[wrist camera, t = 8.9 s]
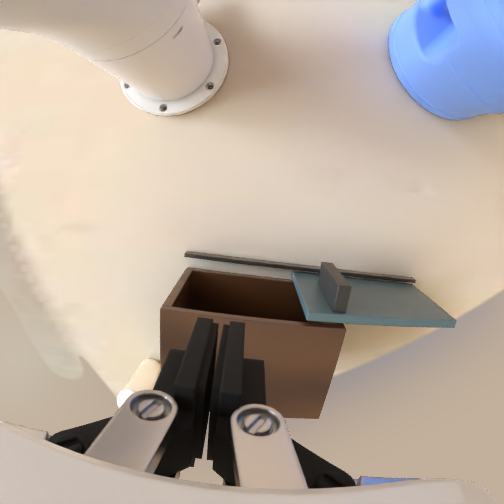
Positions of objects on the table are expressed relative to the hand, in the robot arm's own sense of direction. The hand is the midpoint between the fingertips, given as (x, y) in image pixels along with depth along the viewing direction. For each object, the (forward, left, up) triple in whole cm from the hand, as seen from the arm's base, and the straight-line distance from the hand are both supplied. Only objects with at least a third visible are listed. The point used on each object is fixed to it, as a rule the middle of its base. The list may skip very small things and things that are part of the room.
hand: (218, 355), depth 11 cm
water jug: (-25, +22, -25) cm, 42 cm away
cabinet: (+10, +8, -25) cm, 28 cm away
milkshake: (+20, -10, -25) cm, 34 cm away
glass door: (+3, +14, -25) cm, 28 cm away
